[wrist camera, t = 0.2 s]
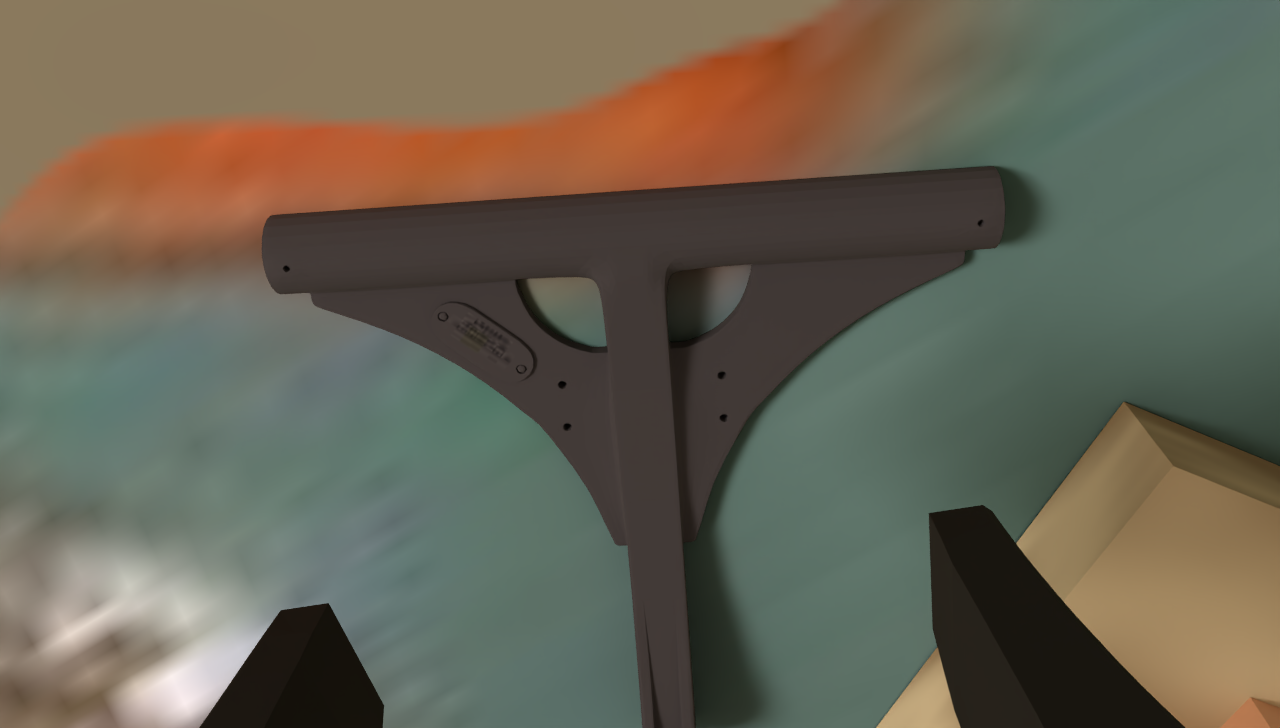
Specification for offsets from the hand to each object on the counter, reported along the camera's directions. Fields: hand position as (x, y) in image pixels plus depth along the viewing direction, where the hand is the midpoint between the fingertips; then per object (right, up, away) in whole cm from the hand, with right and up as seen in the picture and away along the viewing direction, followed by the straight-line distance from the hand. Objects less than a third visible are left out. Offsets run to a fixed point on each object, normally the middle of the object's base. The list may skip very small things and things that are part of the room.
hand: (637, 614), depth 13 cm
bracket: (0, 0, +13) cm, 13 cm away
